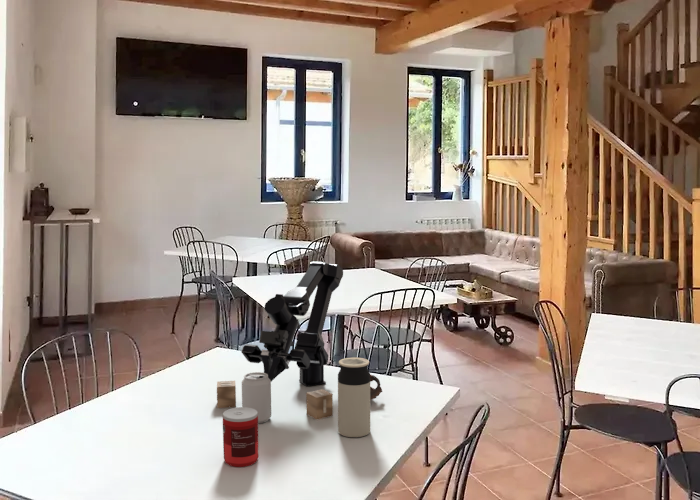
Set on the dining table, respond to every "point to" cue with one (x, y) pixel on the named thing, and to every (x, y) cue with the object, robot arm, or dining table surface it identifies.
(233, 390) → the marked block 1
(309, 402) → the marked block 2
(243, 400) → the can
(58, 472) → the dining table surface
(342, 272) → the robot arm
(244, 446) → the canned food
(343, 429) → the travel mug
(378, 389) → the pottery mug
